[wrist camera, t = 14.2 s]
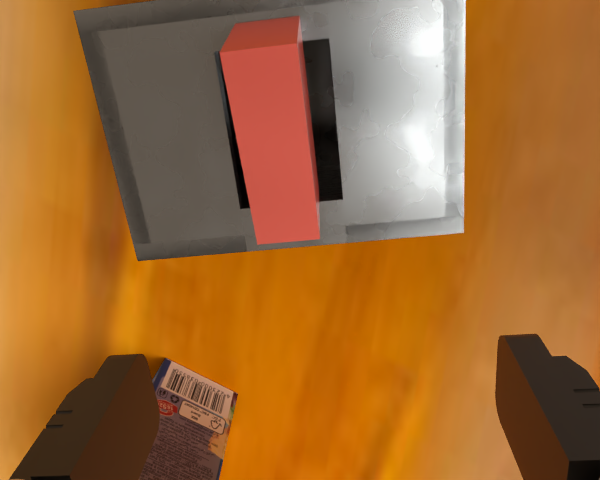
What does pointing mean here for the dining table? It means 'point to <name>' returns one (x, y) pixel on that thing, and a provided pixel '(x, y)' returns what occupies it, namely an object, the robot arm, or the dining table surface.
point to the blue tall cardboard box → (189, 426)
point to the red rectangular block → (273, 127)
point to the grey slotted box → (323, 106)
